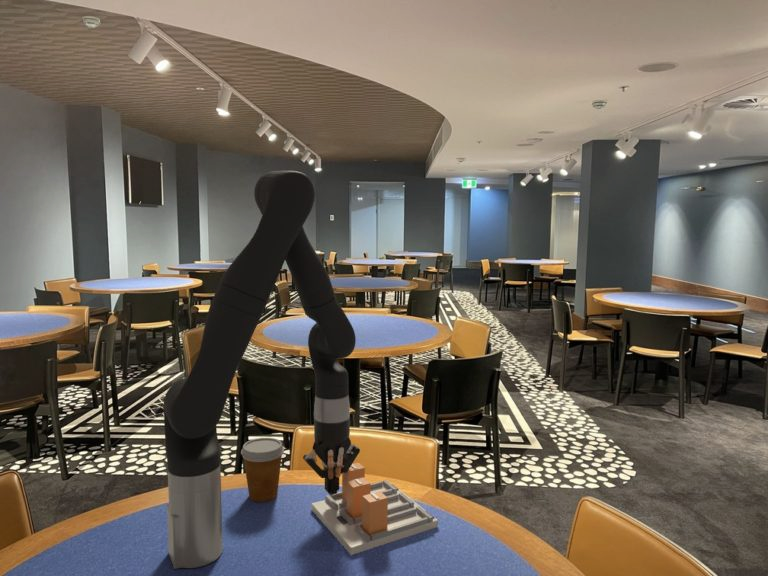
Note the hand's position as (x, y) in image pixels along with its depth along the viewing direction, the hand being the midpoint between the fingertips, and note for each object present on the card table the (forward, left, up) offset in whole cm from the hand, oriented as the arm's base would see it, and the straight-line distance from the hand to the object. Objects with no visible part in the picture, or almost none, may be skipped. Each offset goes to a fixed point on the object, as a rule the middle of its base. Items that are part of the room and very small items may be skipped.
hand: (332, 492), depth 120 cm
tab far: (+5, 0, -2) cm, 6 cm away
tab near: (+3, -14, -2) cm, 14 cm away
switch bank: (+6, -7, -4) cm, 10 cm away
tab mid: (+3, -7, -2) cm, 8 cm away
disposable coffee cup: (-11, +14, -4) cm, 18 cm away
